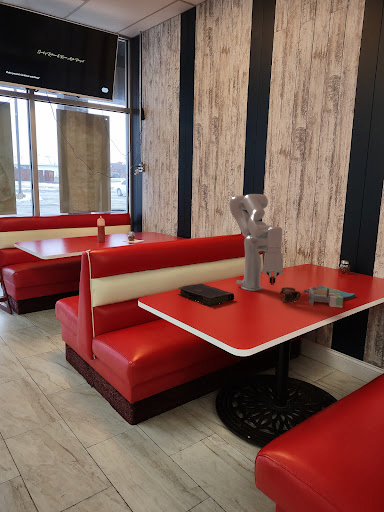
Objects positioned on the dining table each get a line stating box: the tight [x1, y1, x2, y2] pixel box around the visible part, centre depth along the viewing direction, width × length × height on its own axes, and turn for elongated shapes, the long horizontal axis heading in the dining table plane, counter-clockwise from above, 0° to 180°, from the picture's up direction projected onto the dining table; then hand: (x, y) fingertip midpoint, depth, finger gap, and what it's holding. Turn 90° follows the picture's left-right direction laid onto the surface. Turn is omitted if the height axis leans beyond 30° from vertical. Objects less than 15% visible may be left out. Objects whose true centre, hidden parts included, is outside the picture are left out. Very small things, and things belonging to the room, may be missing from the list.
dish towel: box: [303, 285, 357, 302], centre depth 218 cm, size 17×23×2 cm
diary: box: [177, 283, 235, 308], centre depth 204 cm, size 19×25×5 cm
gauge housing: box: [327, 293, 344, 309], centre depth 199 cm, size 6×10×5 cm, turn 168°
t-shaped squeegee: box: [308, 287, 331, 306], centre depth 200 cm, size 12×13×8 cm
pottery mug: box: [279, 287, 302, 304], centre depth 203 cm, size 12×10×8 cm
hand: (272, 284), depth 204 cm, fingers closed
